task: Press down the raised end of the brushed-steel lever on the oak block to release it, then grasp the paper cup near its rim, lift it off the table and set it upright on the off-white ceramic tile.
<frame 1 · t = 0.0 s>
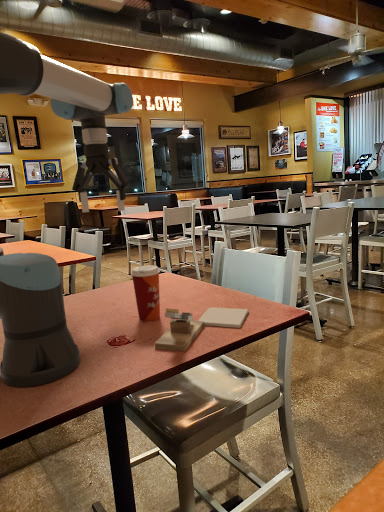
hand: (103, 211, 119), 28 cm above the table, fingers open, 13 cm apart
tile: (223, 318, 95), on the table
lever: (179, 315, 85), point 5 cm above the table, hinge at 25.0°
paper cup: (149, 318, 99), on the table
lever base: (181, 336, 86), on the table
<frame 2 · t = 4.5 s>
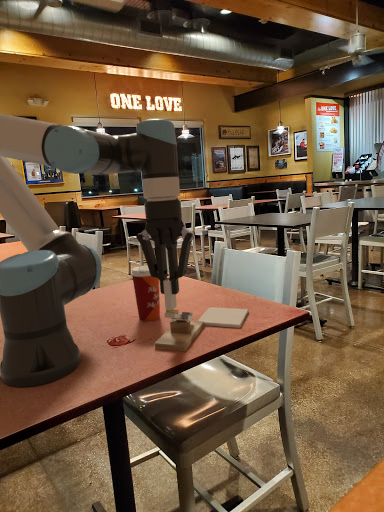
hand: (171, 307, 80), 9 cm above the table, fingers closed
lever: (179, 315, 85), point 5 cm above the table, hinge at 23.6°, touching gripper
everything else where it was.
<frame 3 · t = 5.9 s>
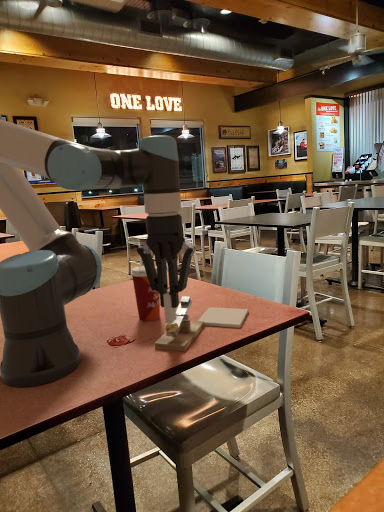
hand: (170, 320, 80), 6 cm above the table, fingers closed
lever: (179, 315, 84), point 5 cm above the table, hinge at -20.0°
everything else where it was.
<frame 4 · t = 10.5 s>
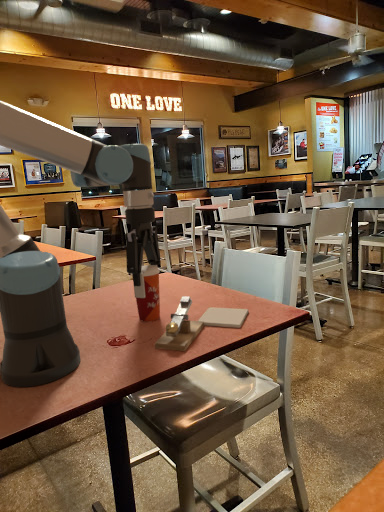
hand: (147, 292, 98), 7 cm above the table, fingers closed on paper cup, 8 cm apart
paper cup: (149, 318, 99), on the table, touching gripper
everything else where it was.
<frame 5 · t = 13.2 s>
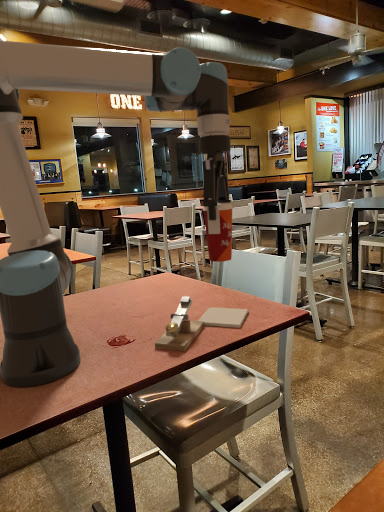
hand: (219, 231, 91), 23 cm above the table, fingers closed on paper cup, 8 cm apart
paper cup: (220, 260, 92), point 16 cm above the table, touching gripper
everything else where it was.
when the fingers open (9 cm above the table, at t = 16.1 s): paper cup drops 1 cm, resting on tile.
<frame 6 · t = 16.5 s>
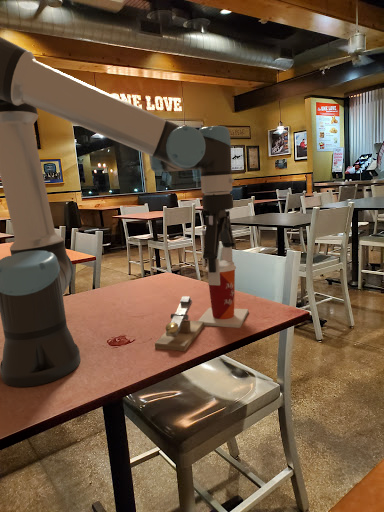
hand: (221, 277, 93), 11 cm above the table, fingers open, 13 cm apart
paper cup: (223, 315, 95), point 1 cm above the table, touching tile
everything else where it was.
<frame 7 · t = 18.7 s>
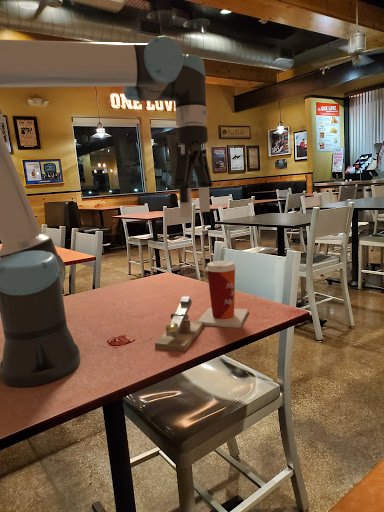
hand: (196, 214, 93), 27 cm above the table, fingers open, 13 cm apart
nothing on the table moved.
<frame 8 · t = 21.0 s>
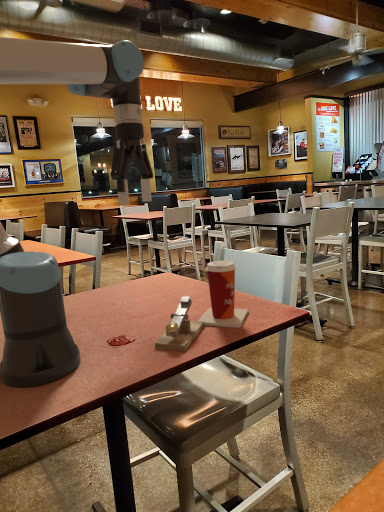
hand: (136, 203, 102), 31 cm above the table, fingers open, 13 cm apart
nothing on the table moved.
at the end: lever at -20° (first picture: +25°); paper cup inside the target area on the tile (0.0 cm from its centre), point 0.6 cm above the tile's base; paper cup tilted 0° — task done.
